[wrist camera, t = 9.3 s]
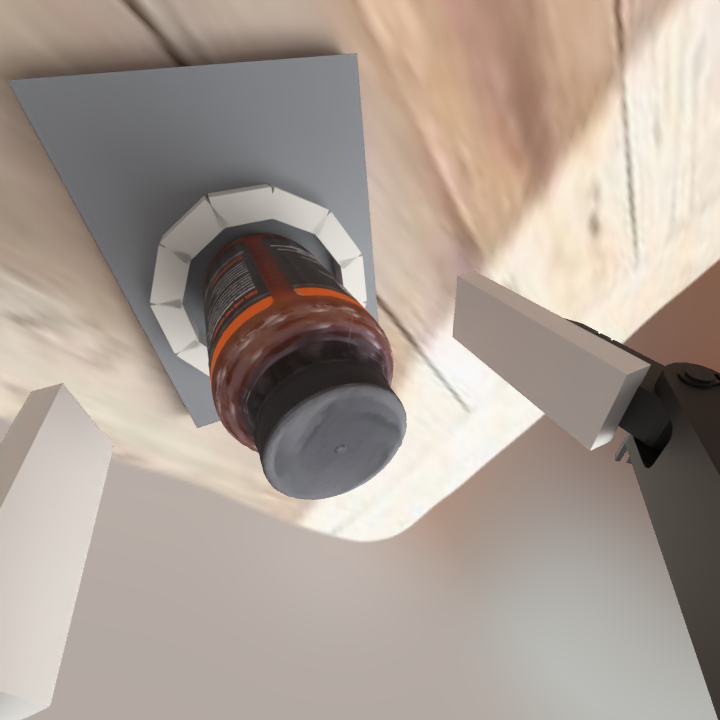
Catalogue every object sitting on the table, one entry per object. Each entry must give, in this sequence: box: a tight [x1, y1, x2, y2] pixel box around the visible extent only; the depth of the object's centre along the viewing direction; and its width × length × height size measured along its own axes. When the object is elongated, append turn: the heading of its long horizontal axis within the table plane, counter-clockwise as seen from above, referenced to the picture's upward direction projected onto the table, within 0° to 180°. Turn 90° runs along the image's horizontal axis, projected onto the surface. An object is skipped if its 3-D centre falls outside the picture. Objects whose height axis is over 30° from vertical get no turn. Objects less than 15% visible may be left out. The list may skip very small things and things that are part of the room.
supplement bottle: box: [203, 233, 407, 500], centre depth 13 cm, size 6×6×11 cm
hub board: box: [7, 53, 378, 428], centre depth 17 cm, size 16×12×2 cm
